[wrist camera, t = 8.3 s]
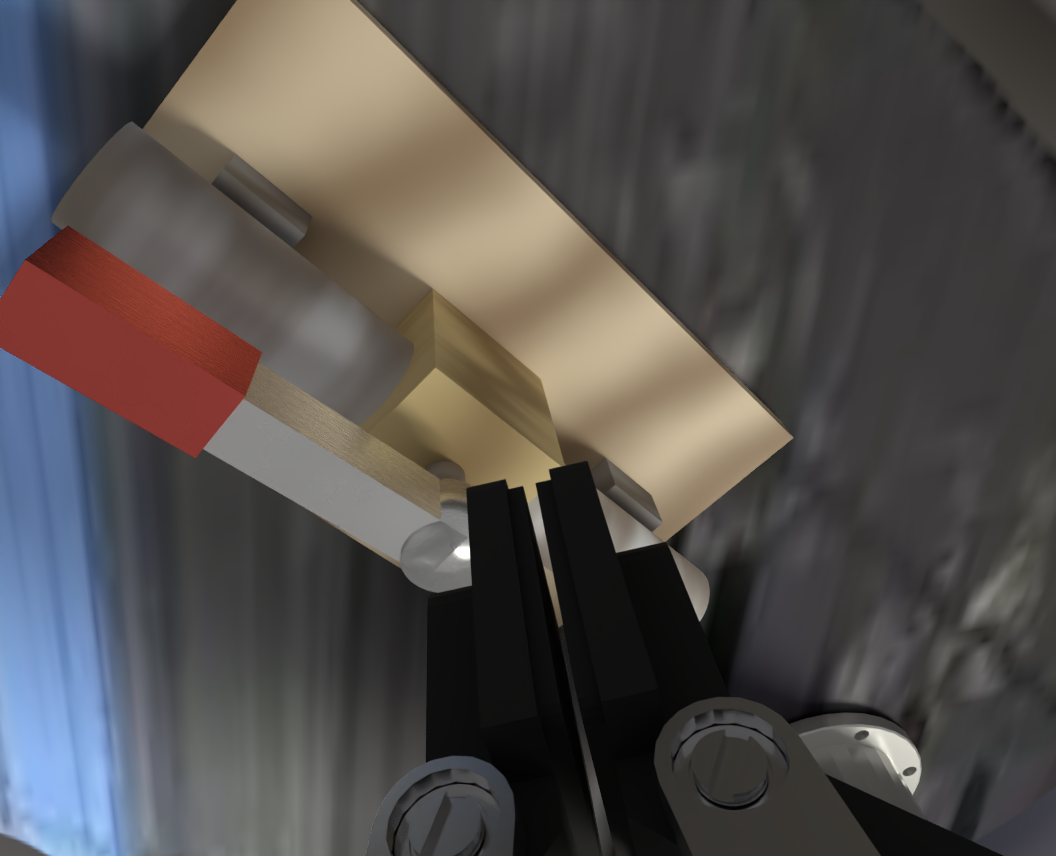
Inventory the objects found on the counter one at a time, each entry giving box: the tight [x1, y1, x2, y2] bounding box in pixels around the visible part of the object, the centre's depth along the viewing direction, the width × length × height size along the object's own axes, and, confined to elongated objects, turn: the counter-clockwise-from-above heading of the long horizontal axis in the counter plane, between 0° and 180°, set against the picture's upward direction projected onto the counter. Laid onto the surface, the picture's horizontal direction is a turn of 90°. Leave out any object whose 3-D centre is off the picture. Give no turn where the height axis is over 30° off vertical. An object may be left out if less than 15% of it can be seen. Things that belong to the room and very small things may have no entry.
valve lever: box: [0, 226, 472, 593], centre depth 21 cm, size 3×14×2 cm, turn 48°
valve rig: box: [51, 0, 793, 627], centre depth 28 cm, size 26×16×10 cm, turn 45°
